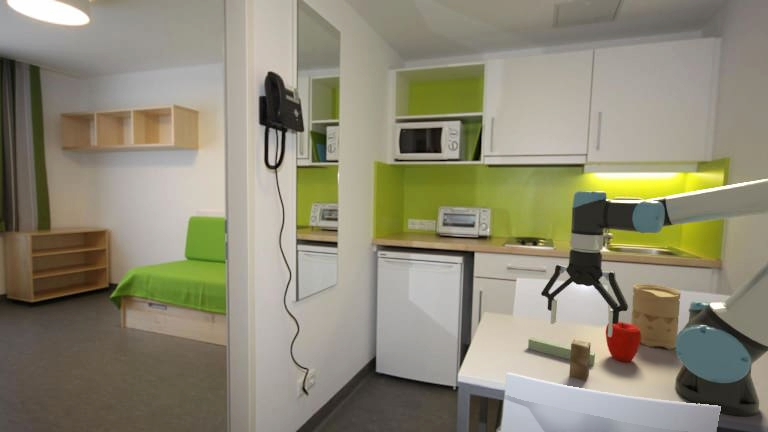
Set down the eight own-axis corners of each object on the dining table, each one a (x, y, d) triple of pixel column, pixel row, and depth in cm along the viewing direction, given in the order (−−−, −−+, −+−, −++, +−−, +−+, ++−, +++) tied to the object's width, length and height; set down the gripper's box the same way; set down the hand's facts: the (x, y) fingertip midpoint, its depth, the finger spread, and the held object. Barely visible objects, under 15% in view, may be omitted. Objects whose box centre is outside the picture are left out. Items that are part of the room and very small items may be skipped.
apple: (633, 354, 114) (635, 320, 113) (644, 367, 106) (647, 330, 105) (600, 350, 116) (602, 316, 116) (609, 363, 108) (611, 326, 107)
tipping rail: (594, 362, 108) (594, 352, 108) (593, 365, 106) (593, 355, 106) (530, 346, 119) (530, 337, 119) (528, 348, 117) (528, 339, 117)
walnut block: (588, 375, 100) (590, 342, 100) (586, 381, 97) (588, 347, 97) (572, 371, 103) (574, 338, 102) (569, 376, 100) (571, 343, 99)
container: (686, 350, 118) (690, 294, 117) (647, 349, 118) (650, 293, 117) (657, 334, 131) (661, 284, 129) (621, 334, 131) (625, 283, 129)
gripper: (644, 254, 93) (637, 336, 95) (539, 243, 108) (535, 314, 110) (642, 258, 87) (635, 346, 89) (532, 245, 102) (528, 321, 104)
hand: (580, 328), depth 99 cm, fingers open, 13 cm apart
